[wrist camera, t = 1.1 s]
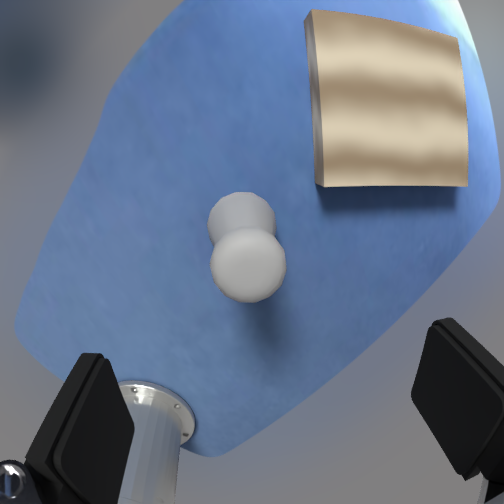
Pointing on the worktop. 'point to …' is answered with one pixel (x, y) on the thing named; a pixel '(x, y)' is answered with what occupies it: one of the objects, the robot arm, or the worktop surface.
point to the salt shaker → (245, 248)
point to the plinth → (385, 103)
